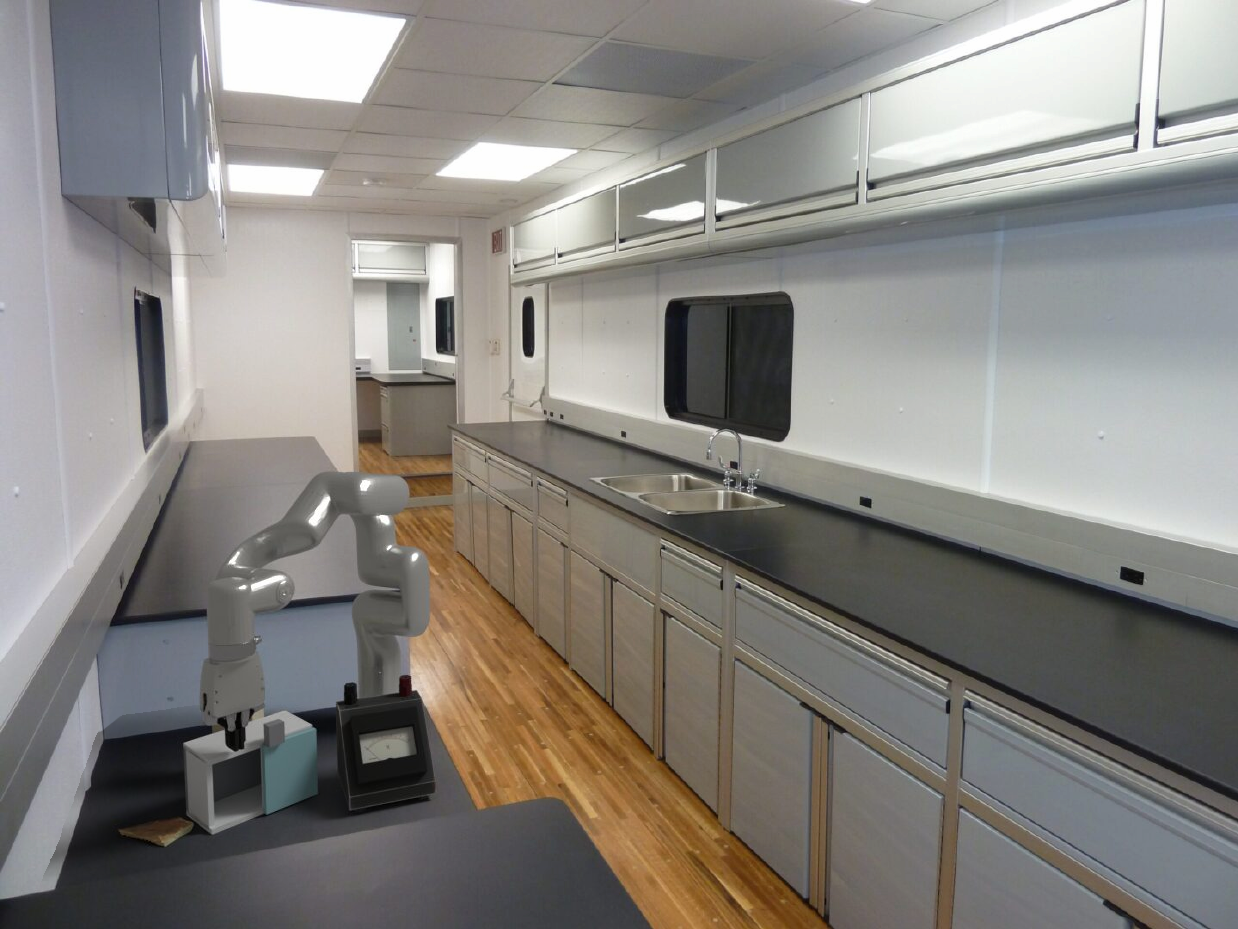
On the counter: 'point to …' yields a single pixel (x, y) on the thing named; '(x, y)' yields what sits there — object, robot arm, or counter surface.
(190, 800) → the storage cabinet
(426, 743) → the voltmeter
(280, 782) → the sliding door
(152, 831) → the shard
